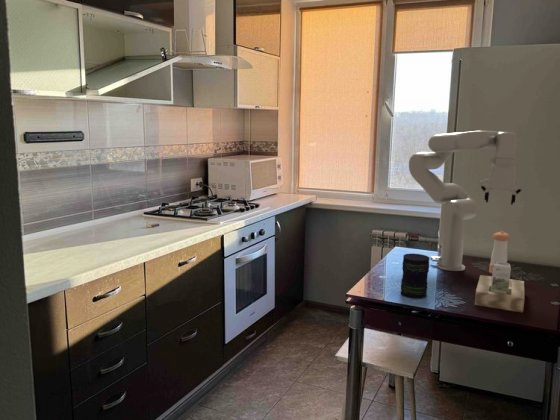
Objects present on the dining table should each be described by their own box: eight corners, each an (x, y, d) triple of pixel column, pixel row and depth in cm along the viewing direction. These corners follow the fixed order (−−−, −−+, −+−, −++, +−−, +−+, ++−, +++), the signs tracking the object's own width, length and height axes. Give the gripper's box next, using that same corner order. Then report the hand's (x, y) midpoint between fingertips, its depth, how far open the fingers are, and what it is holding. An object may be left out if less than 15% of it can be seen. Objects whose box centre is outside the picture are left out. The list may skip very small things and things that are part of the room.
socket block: (474, 304, 184) (475, 291, 183) (479, 286, 206) (480, 274, 205) (522, 312, 178) (524, 299, 177) (522, 293, 199) (523, 281, 198)
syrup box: (506, 300, 189) (510, 262, 186) (506, 305, 183) (511, 266, 181) (489, 298, 191) (493, 261, 188) (489, 303, 185) (493, 264, 183)
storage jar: (422, 300, 187) (425, 261, 184) (396, 295, 192) (399, 257, 189) (429, 293, 195) (433, 256, 193) (405, 288, 200) (407, 252, 198)
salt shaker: (488, 273, 225) (493, 231, 222) (488, 269, 232) (493, 228, 229) (506, 275, 223) (511, 233, 220) (506, 271, 229) (510, 230, 226)
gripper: (480, 161, 208) (476, 202, 211) (527, 164, 201) (522, 206, 204) (482, 160, 215) (478, 200, 218) (527, 163, 208) (522, 204, 211)
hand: (499, 203), depth 211 cm, fingers open, 9 cm apart
